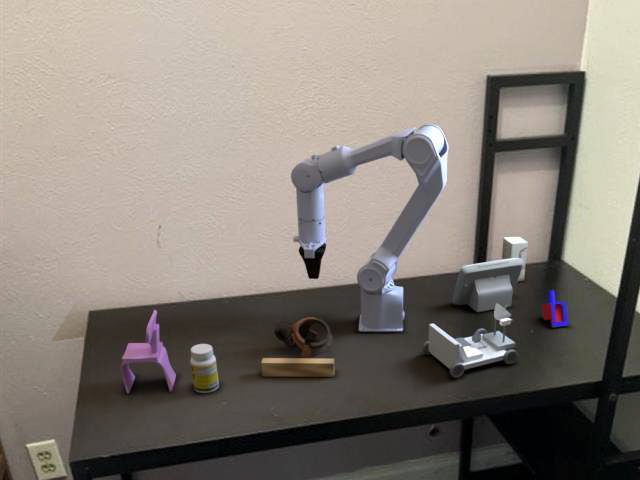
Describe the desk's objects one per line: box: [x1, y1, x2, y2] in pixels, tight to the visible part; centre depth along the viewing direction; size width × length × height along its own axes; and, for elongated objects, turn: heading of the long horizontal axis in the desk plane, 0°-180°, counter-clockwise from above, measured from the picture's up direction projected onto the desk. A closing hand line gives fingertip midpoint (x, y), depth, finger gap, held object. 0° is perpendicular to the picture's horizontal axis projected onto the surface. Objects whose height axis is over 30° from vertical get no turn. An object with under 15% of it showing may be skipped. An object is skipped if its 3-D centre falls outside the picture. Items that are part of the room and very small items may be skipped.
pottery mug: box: [273, 316, 333, 358], centre depth 160 cm, size 12×10×8 cm
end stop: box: [260, 357, 336, 378], centre depth 152 cm, size 14×2×3 cm, turn 88°
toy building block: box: [541, 289, 569, 328], centre depth 171 cm, size 4×4×8 cm
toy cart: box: [421, 303, 519, 379], centre depth 156 cm, size 18×10×12 cm
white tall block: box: [501, 235, 529, 283], centre depth 192 cm, size 5×4×10 cm
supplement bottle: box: [189, 343, 220, 394], centre depth 146 cm, size 5×5×8 cm
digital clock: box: [451, 258, 523, 313], centre depth 178 cm, size 16×9×11 cm, turn 99°
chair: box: [120, 309, 177, 394], centre depth 146 cm, size 8×9×15 cm
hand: (313, 277), depth 171 cm, fingers closed
